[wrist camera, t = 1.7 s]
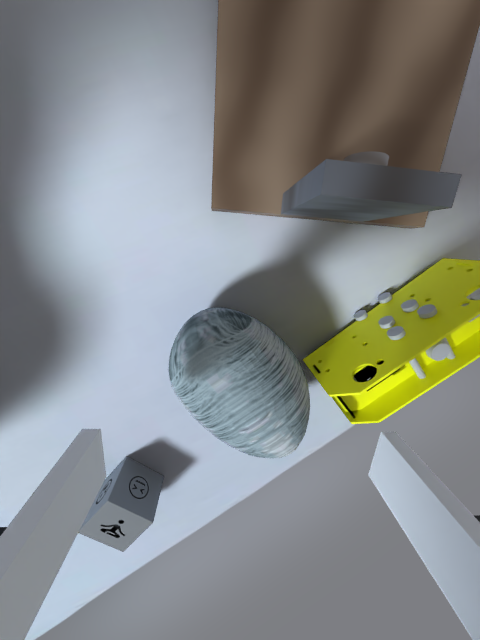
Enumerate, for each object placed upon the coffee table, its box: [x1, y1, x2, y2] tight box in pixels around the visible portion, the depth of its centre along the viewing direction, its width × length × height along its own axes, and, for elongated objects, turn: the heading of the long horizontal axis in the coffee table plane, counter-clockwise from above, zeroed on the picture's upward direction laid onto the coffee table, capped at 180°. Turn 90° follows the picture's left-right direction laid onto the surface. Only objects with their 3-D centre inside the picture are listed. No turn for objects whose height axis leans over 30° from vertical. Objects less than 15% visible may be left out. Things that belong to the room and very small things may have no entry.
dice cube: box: [78, 456, 164, 552], centre depth 26 cm, size 5×5×5 cm
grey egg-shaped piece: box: [169, 307, 310, 458], centre depth 20 cm, size 14×10×10 cm
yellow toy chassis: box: [303, 258, 480, 424], centre depth 21 cm, size 16×6×8 cm, turn 128°
